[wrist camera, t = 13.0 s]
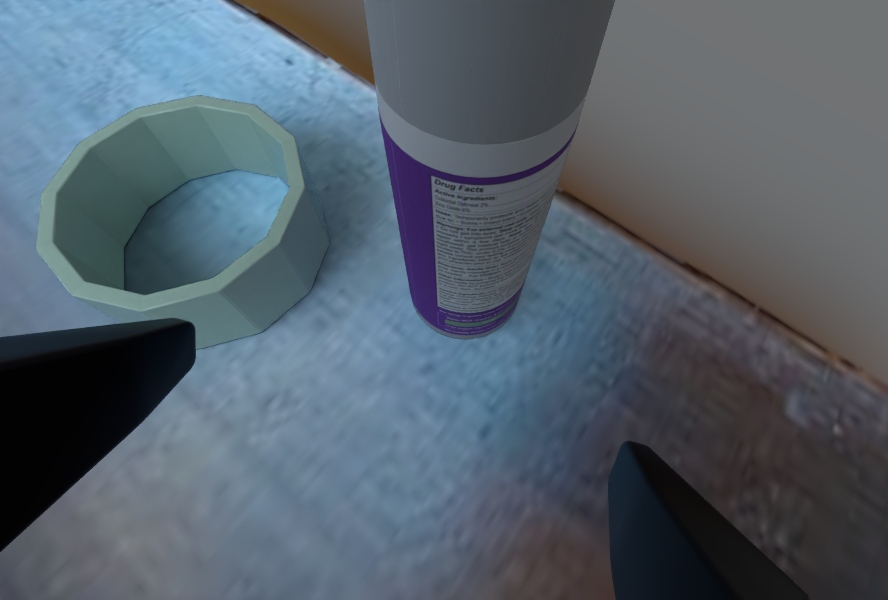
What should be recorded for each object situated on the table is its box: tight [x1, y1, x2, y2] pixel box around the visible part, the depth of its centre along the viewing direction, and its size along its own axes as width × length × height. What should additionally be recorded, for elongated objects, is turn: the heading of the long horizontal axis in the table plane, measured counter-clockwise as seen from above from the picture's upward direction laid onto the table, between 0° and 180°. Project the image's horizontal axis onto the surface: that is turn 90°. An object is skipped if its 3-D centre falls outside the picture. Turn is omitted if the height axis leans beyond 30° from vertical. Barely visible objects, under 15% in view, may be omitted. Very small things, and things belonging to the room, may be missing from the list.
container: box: [364, 0, 615, 339], centre depth 13 cm, size 5×5×15 cm
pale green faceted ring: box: [36, 95, 330, 349], centre depth 19 cm, size 10×10×4 cm
